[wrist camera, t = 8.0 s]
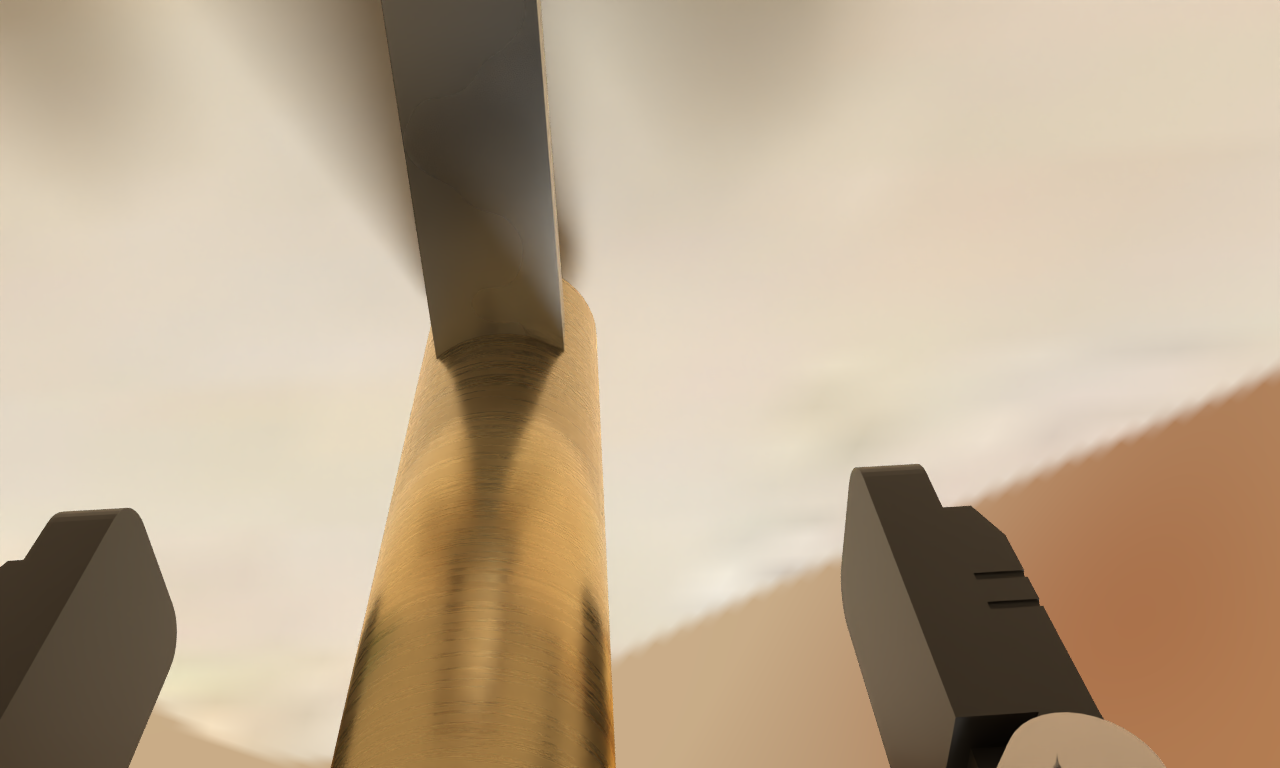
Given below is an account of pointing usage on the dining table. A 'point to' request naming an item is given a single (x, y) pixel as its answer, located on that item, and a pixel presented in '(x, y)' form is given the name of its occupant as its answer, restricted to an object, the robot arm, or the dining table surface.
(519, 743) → the lever handle
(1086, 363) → the dining table surface
